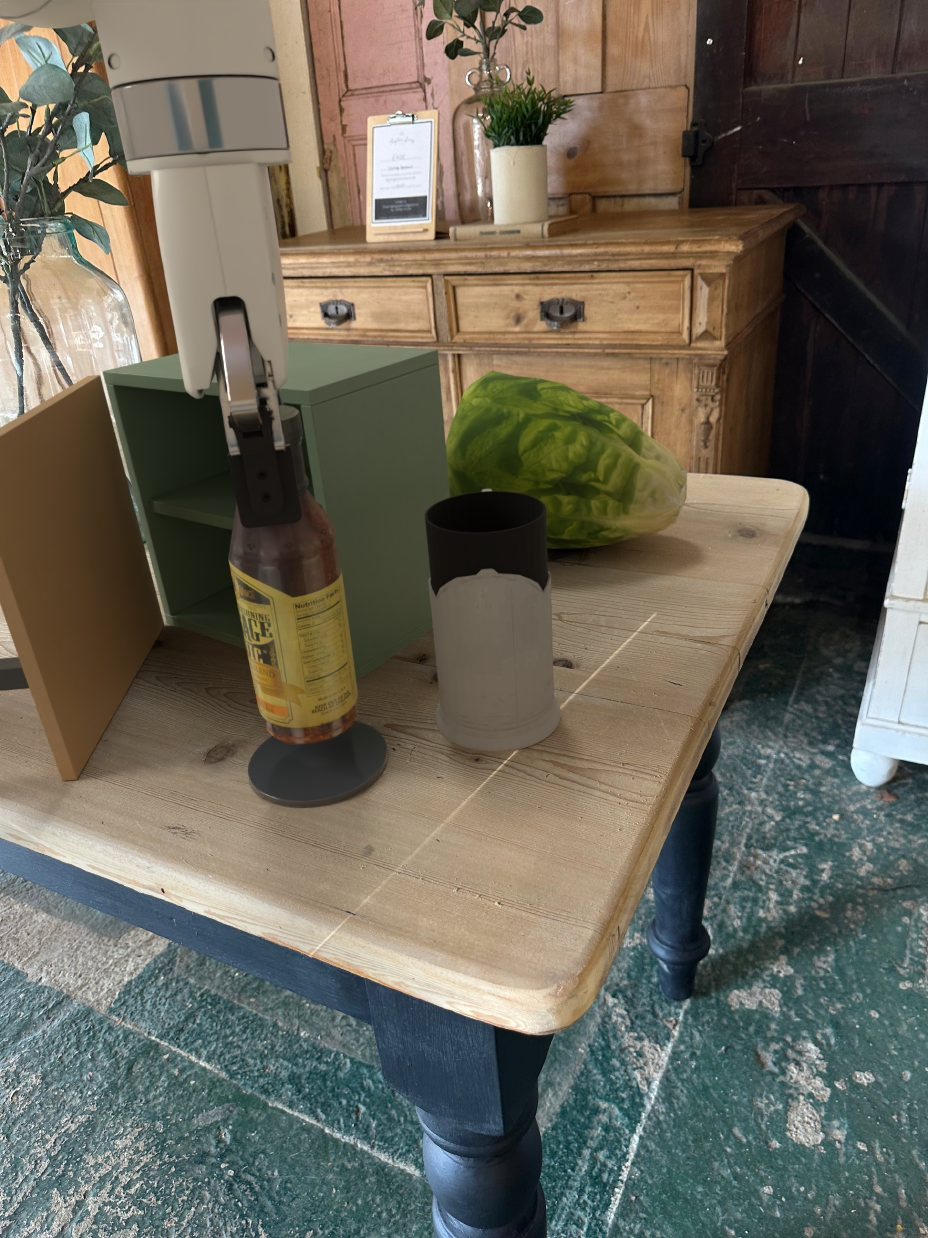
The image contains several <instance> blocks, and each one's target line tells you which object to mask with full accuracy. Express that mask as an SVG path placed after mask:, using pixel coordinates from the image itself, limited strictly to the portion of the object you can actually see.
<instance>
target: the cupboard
mask: <svg viewBox="0 0 928 1238" xmlns="http://www.w3.org/2000/svg"><path fill="white" fill-rule="evenodd" d="M102 376H103V380H104V384H105V388H106V391H107V394H108V399H109V402H110V403H109V404H110V408H111V411H112V414H113V415H112V416H113V418H114V422H115V426H116V431H117V434H118V437H119V441H120V446H121V450H122V453H123V459H124V462H125V465H126V469H127V473H128V477H129V480H130V485H131V489H132V493H133V496H134V500H135V505H136V508H137V512H138V517H139V520H140V524H141V528H142V533H143V536H144V540H145V543H146V547H147V551H148V555H149V559H150V564H151V567H152V571H153V575H154V578H155V582H156V587H157V591H158V594H159V598H160V603H161V606H162V610H163V613H164V618H165V621H166V623H167V624H169V625H171V626H175V627H178V628H181V629H183V630H186V631H189V632H193V633H196V634H198V635H202V636H205V637H207V638H211V639H214V640H217V641H220V642H223V643H225V644H229V645H232V646H234V647H238V648H240V649H244V650H247V649H246V647H245V641H244V634H243V631H242V625H241V621H240V616H239V610H238V604H237V599H236V594H235V589H234V585H233V580H232V575H231V569H230V564H229V559H228V558H229V551H230V544H231V538H232V531H233V524H234V518H235V512H236V505H237V502H236V497H235V492H234V487H233V482H232V477H231V472H230V467H229V462H228V457H227V455H228V453H230V452H229V447H228V443H227V441H226V435H225V427H224V418H223V413H222V407H221V401H220V399H219V390H218V384H217V378H216V374H215V375H214V378H213V380H212V383H211V385H210V388H209V389H206V391H205V394H204V396H203V397H202V398H198V399H196V398H194V397H193V396H191V395H190V394H189V393H188V392H187V391H186V389H185V386H184V380H183V375H182V369H181V363H180V357H179V352H177V353H173V354H170V355H165V356H161V357H157V358H152V359H148V360H144V361H140V362H136V363H131V364H128V365H123V366H119V367H113V368H110V369H106V370H103V371H102ZM441 382H442V381H441V370H440V356H439V350H438V348H436V349H435V348H417V347H401V346H400V347H397V346H382V345H381V346H378V345H360V344H359V345H358V344H344V343H343V344H342V343H323V342H322V343H321V342H302V341H288V381H287V382H286V383H285V384H284V385H283V386H282V387H281V392H282V398H283V403H284V405H285V406H291V407H294V408H296V409H297V410H298V411H299V412H300V417H301V422H302V429H303V437H302V441H301V447H302V454H303V461H304V467H305V474H306V476H307V477H308V480H309V484H308V487H307V490H308V491H309V493H310V494H311V495H312V496H313V497H314V499H315V500H316V502H317V503H319V504H321V505H322V506H323V509H324V510H325V512H326V514H327V515H328V517H329V518H330V519H331V522H332V525H333V527H334V532H335V537H336V538H335V541H336V547H337V556H338V563H339V566H341V570H342V577H343V584H344V592H345V600H346V607H347V615H348V622H349V629H350V637H351V644H352V652H353V660H354V668H355V676H356V683H357V682H359V681H360V680H361V679H363V678H364V677H366V676H368V675H369V674H370V673H372V672H373V671H374V670H376V669H378V668H379V667H381V665H383V664H385V663H386V662H387V661H389V660H390V659H391V658H393V657H394V656H396V655H397V654H398V653H400V652H401V651H403V650H404V649H406V648H407V647H408V646H410V645H412V644H413V643H414V642H416V641H417V640H418V639H420V638H421V637H423V636H424V635H425V634H427V633H428V632H430V631H431V630H433V625H432V614H431V604H430V594H429V583H428V579H429V578H431V575H430V565H429V554H428V544H427V533H426V523H425V513H426V511H427V510H428V509H429V507H431V506H432V505H434V504H435V503H437V502H439V501H441V500H444V499H447V498H450V493H449V481H448V468H447V456H446V432H445V431H446V430H445V421H444V420H445V418H444V408H443V395H442V383H441Z"/></svg>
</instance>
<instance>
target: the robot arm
mask: <svg viewBox="0 0 928 1238" xmlns="http://www.w3.org/2000/svg"><path fill="white" fill-rule="evenodd" d="M0 20H6V21H10V22H13V23H17V24H20V25H25V26H29V27H34V28H40V29H66V28H71V27H75V26H80V25H84V24H87V23H91V22H93V21H94V22H95V27H96V30H97V35H98V41H99V45H100V49H101V53H102V58H103V63H104V67H105V72H106V76H107V81H108V86H109V89H110V91H111V92H110V93H111V99H112V103H113V109H114V112H115V113H114V114H115V118H116V121H117V126H118V131H119V136H120V140H121V144H122V150H123V154H124V158H125V163H126V167H127V173H128V175H131V176H136V175H137V176H139V175H143V176H145V175H146V176H147V175H148V176H149V175H150V182H151V192H152V201H153V211H154V219H155V224H156V225H155V226H156V232H157V238H158V244H159V250H160V256H161V262H162V268H163V273H164V280H165V284H166V290H167V295H168V301H169V306H170V312H171V317H172V323H173V328H174V334H175V340H176V344H177V351H178V353H179V357H180V363H181V369H182V375H183V380H184V386H185V389H186V391H187V392H188V393H189V394H190V395H191V396H193V397H194V398H196V399H198V398H202V397H203V396H204V394H205V391H206V389H209V388H210V385H211V383H212V380H213V378H214V375H215V374H216V378H217V384H218V390H219V399H220V401H221V407H222V413H223V418H224V424H225V430H226V436H227V441H228V447H229V452H230V453H228V455H227V457H228V462H229V467H230V472H231V477H232V482H233V487H234V492H235V497H236V502H237V507H238V512H239V517H240V522H241V524H242V526H243V527H245V528H256V527H264V526H272V525H280V524H287V523H295V522H298V521H300V519H301V517H302V511H301V505H300V499H299V493H298V487H297V481H296V474H295V468H294V462H293V456H292V450H291V446H285V440H284V433H283V427H282V421H281V414H280V408H279V405H284V403H283V398H282V392H281V387H282V386H283V385H284V384H285V383H286V382H287V381H288V342H289V330H288V313H287V302H286V291H285V283H284V274H283V266H282V260H281V251H280V243H279V238H278V237H279V236H278V230H277V224H276V223H277V222H276V216H275V209H274V203H273V202H274V201H273V195H272V190H271V182H270V175H269V169H268V167H273V166H281V165H289V164H292V163H293V156H292V150H291V144H290V142H291V141H290V135H289V129H288V122H287V114H286V108H285V101H284V94H283V88H282V87H283V86H282V83H281V73H280V67H279V61H278V53H277V47H276V39H275V33H274V31H275V30H274V24H273V17H272V10H271V2H270V0H0ZM265 405H268V410H267V408H266V406H265ZM270 424H271V426H270Z"/></svg>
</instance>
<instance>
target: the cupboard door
mask: <svg viewBox="0 0 928 1238" xmlns="http://www.w3.org/2000/svg"><path fill="white" fill-rule="evenodd" d="M153 579H154V578H153V574H152V571H151V567H150V563H149V560H148V556H147V551H146V547H145V544H144V540H143V536H142V532H141V527H140V524H139V520H138V516H137V512H136V508H135V504H134V501H133V497H132V492H131V490H130V486H129V482H128V478H127V474H126V470H125V466H124V461H123V458H122V455H121V450H120V447H119V443H118V438H117V435H116V432H115V426H114V424H113V419H112V416H111V412H110V408H109V403H108V400H107V396H106V392H105V389H104V383H103V380H102V376H101V375H100V374H96V375H95V374H93V375H87V376H85V377H83V378H82V379H80V380H78V381H77V382H75V383H73V384H72V385H70V386H68V387H66V388H65V389H63V390H61V391H60V392H58V393H56V394H55V395H53V396H51V397H50V398H48V399H46V400H44V401H43V402H41V403H40V404H38V405H36V406H35V407H32V408H31V409H29V410H28V411H26V412H24V413H22V414H20V415H19V416H17V417H16V418H14V419H12V420H11V421H9V422H8V423H6V424H4V425H3V426H0V608H1V611H2V614H3V616H4V620H5V623H6V625H7V628H8V632H9V634H10V637H11V639H12V642H13V645H14V648H15V651H16V654H17V656H14V657H1V658H0V692H4V691H16V690H26V689H29V691H30V694H31V695H32V699H33V702H34V705H35V707H36V708H35V709H36V711H37V714H38V716H39V719H40V722H41V725H42V728H43V730H44V733H45V734H44V735H45V736H46V739H47V742H48V745H49V749H50V751H51V753H52V754H51V755H52V756H53V759H54V762H55V765H56V768H57V771H58V773H59V776H60V779H61V781H62V782H64V781H76V780H78V778H79V776H80V775H81V773H82V771H83V770H84V768H85V766H86V764H87V763H88V761H89V760H90V757H91V755H92V754H93V752H94V750H95V749H96V747H97V745H98V744H99V742H100V740H101V739H102V736H103V734H104V733H105V731H106V729H107V728H108V726H109V724H110V722H111V721H112V719H113V717H114V715H115V714H116V712H117V710H118V708H119V706H121V705H120V704H121V703H122V702H123V699H124V697H125V696H126V694H127V692H128V691H129V689H130V687H131V686H132V684H133V682H134V680H135V678H136V677H137V675H138V673H139V671H140V669H141V667H142V666H143V664H144V662H145V661H146V659H147V657H148V655H149V653H150V652H151V650H152V649H153V646H154V645H155V643H156V642H157V640H158V638H159V636H160V634H161V632H162V631H163V629H164V627H165V622H164V621H165V620H164V618H163V614H162V610H161V606H160V601H159V598H158V595H157V591H156V587H155V583H154V580H153Z"/></svg>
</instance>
